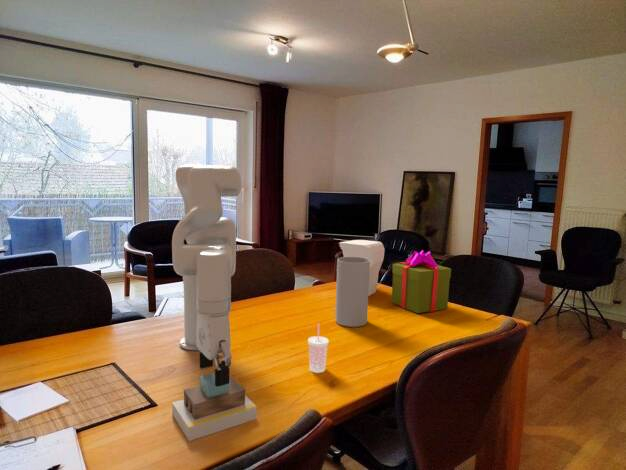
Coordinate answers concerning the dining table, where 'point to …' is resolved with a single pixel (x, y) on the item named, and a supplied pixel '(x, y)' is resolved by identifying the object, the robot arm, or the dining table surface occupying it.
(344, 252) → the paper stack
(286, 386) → the dining table surface
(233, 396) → the pallet
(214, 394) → the teal block
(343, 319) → the cylinder vase
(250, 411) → the block
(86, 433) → the dining table surface
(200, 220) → the robot arm
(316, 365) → the beverage cup
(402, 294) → the gift box
